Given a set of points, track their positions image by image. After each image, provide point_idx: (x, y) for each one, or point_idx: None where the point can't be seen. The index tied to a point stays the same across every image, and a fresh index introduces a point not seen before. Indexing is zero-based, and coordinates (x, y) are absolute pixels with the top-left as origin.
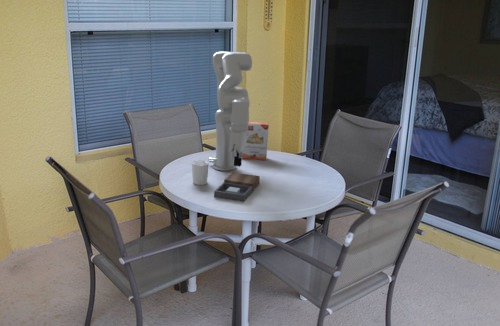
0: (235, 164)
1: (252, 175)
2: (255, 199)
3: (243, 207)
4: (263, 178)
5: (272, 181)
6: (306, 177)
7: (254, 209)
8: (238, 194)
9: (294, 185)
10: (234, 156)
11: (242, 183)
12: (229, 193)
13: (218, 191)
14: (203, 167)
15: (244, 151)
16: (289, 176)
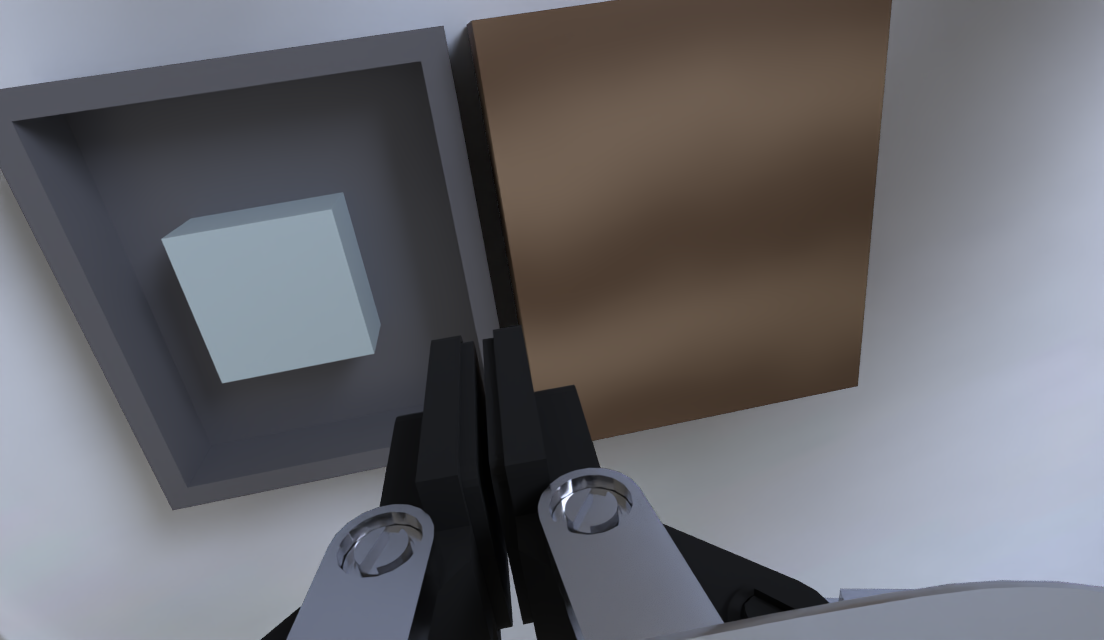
0: (399, 422)
1: (849, 302)
2: (352, 507)
3: (62, 521)
4: (984, 298)
5: (918, 409)
6: (1094, 572)
7: (109, 610)
8: (146, 446)
9: (873, 586)
10: (321, 593)
11: (521, 318)
12: (86, 338)
13: (6, 167)
14: None
15: None
16: (1096, 466)
